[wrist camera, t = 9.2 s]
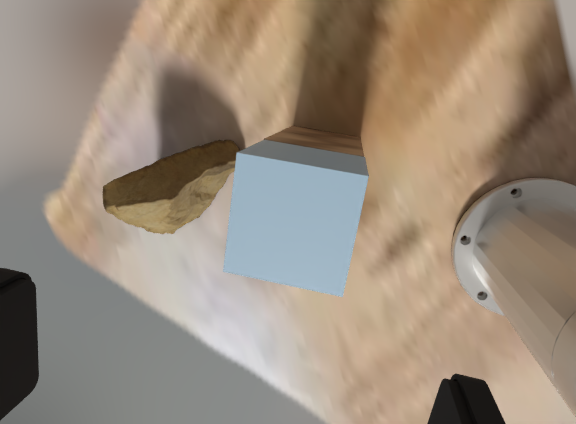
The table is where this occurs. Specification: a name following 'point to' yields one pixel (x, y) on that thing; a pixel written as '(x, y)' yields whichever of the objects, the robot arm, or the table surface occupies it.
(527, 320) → the robot arm
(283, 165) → the blue block
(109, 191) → the rock
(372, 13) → the table surface
